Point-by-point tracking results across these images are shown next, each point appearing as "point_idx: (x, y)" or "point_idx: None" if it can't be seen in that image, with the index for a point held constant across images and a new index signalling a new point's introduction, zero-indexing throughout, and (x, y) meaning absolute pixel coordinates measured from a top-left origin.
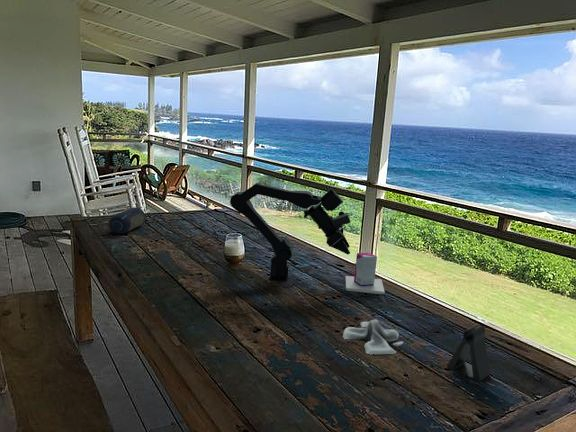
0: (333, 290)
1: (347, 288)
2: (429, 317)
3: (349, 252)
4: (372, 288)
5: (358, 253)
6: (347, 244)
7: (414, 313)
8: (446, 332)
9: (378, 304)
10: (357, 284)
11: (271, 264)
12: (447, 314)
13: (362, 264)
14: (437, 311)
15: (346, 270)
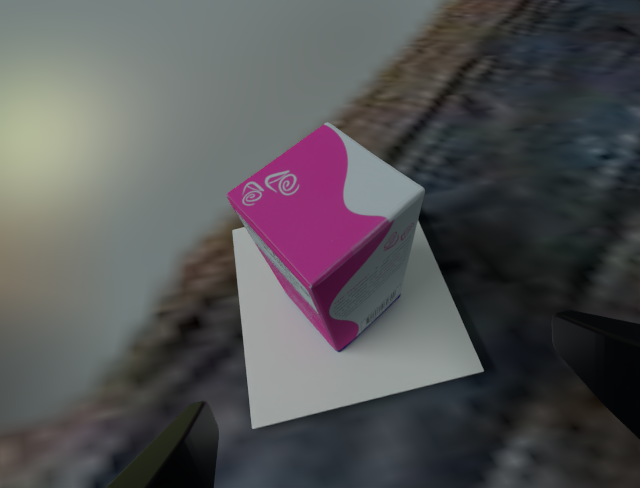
0: (535, 455)
1: (479, 363)
2: (522, 56)
3: (582, 318)
4: None
5: (325, 267)
6: (195, 444)
7: (525, 88)
8: (601, 16)
9: (543, 193)
10: (377, 321)
11: None
12: (455, 30)
13: (404, 243)
14: (450, 49)
15: (94, 459)
